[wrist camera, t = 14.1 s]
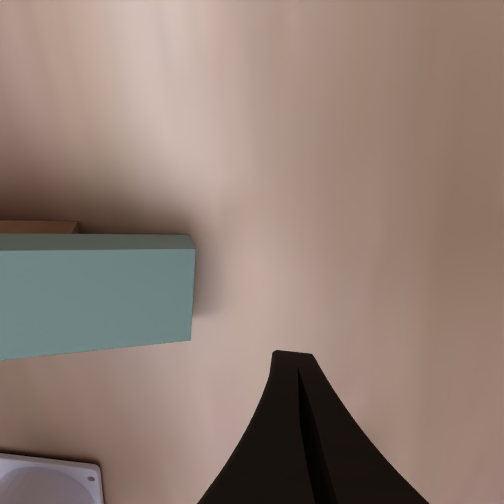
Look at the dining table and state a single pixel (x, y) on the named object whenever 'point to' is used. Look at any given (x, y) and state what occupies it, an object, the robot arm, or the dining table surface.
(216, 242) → the dining table surface
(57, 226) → the domino
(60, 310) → the domino
